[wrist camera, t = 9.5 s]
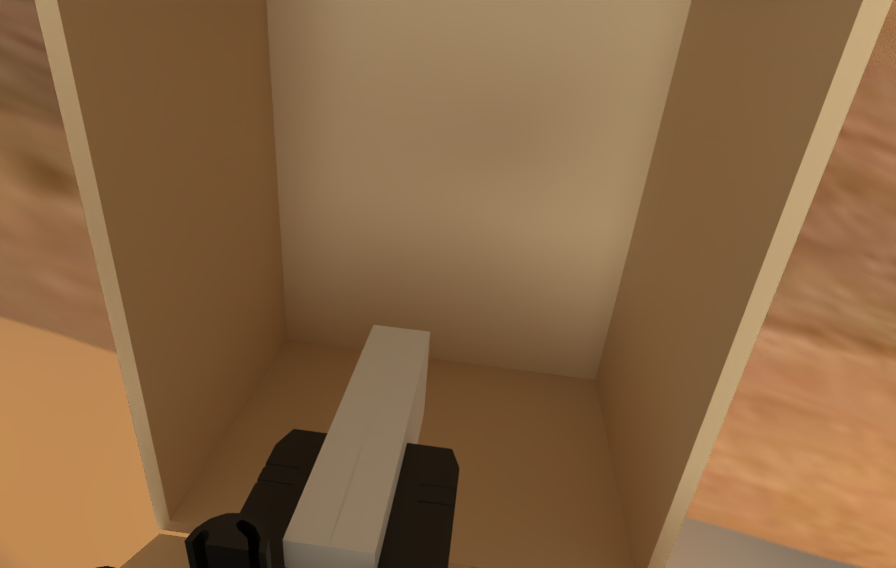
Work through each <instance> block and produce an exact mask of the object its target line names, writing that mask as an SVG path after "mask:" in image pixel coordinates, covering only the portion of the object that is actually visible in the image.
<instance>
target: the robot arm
mask: <svg viewBox="0 0 896 568" xmlns="http://www.w3.org/2000/svg"><path fill="white" fill-rule="evenodd" d="M429 342H430V332H428V331H420V330H412V329H404V328H396V327H388V326H380V325H373V327H372V330H371V332H370V334H369V337H368V339H367V341H366V344H365V346H364V348H363V351H362V353H361V356H360V358H359V360H358V363H357V365H356V367H355V370H354V372H353V375H352V377H351V379H350V382H349V384H348V386H347V389H346V391H345V393H344V396H343V398H342V401H341V403H340V405H339V408H338V410H337V412H336V415H335V417H334V419H333V422H332V424H331V427H330V429H329V431H328V433H321V432H314V431H307V430H299V429H293V430H292V431H290V432H289V433H288V434H287V435H286V436H285V437H283V438H282V439H281V440H280V441H279V442H278V443H276V445H275V447H274V448H273V450H272V452H271V454H270V456H269V458H268V460H267V462H266V465H265V467H263V469H262V471H261V473H260V475H259V477H258V479H257V483H255V484H254V486H253V488H252V490H251V492H250V494H249V496H248V498H247V500H246V502H245V503H244V505H243V507H242V509H241V511H240V513H225V514H222V515H219V516H216V517H213V518H210V519H208V520H207V521H205V522H204V523H202V524H201V525H199V526H198V527H196V528H195V529H194V530H193V531H192V533H191V534H190V535H189V536H188V537H187V538H186V540H185V541H184V542H185V547H186V551H187V556H188V561H189V566H190V568H448V563H449V555H450V546H451V538H452V529H453V520H454V512H455V503H456V495H457V486H458V478H459V469H460V468H459V465H458V463H457V460H456V457H455V455H454V452H453V450H452V449H449V448H442V447H435V446H427V445H420V444H417V443H418V439H419V434H420V430H421V425H422V420H423V416H424V407H425V394H426V381H427V368H428V355H429ZM98 568H114V567H109V566H104V567H98Z"/></svg>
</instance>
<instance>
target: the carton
mask: <svg viewBox="0 0 896 568" xmlns="http://www.w3.org/2000/svg"><path fill="white" fill-rule="evenodd" d="M891 3H892V0H35V4H36V9H37V13H38V17H39V21H40V26H41V30H42V34H43V39H44V43H45V47H46V51H47V56H48V60H49V64H50V69H51V73H52V77H53V81H54V86H55V90H56V94H57V99H58V103H59V107H60V112H61V116H62V120H63V124H64V129H65V133H66V137H67V142H68V146H69V150H70V154H71V159H72V163H73V167H74V172H75V176H76V180H77V184H78V189H79V193H80V197H81V202H82V206H83V210H84V214H85V219H86V223H87V227H88V232H89V236H90V240H91V244H92V249H93V253H94V257H95V262H96V266H97V270H98V274H99V279H100V283H101V287H102V292H103V296H104V300H105V304H106V309H107V313H108V317H109V322H110V326H111V330H112V335H113V339H114V343H115V347H116V352H117V356H118V360H119V364H120V369H121V373H122V377H123V381H124V386H125V390H126V395H127V399H128V403H129V407H130V412H131V416H132V420H133V425H134V429H135V433H136V437H137V442H138V446H139V450H140V454H141V459H142V463H143V467H144V472H145V476H146V480H147V485H148V489H149V493H150V497H151V502H152V506H153V510H154V515H155V519H156V523H157V527H158V529H162V530H169V531H176V532H183V533H189V534H191V533H192V531H193V530H194V529H195V528H196V527H198V526H199V525H201V524H202V523H204V522H205V521H207V520H208V519H210V518H213V517H216V516H219V515H222V514H225V513H240V511H241V509H242V507H243V505H244V503H245V502H246V500H247V498H248V496H249V494H250V492H251V490H252V488H253V486H254V484H255V483H257V479H258V477H259V475H260V473H261V471H262V469H263V467H265V465H266V462H267V460H268V458H269V456H270V454H271V452H272V450H273V448H274V447H275V445H276V443H278V442H279V441H280V440H281V439H282V438H283V437H285V436H286V435H287V434H288V433H289V432H290V431H292V430H293V429H299V430H307V431H314V432H321V433H328V431H329V429H330V427H331V424H332V422H333V419H334V417H335V415H336V412H337V410H338V408H339V405H340V403H341V401H342V398H343V396H344V393H345V391H346V389H347V386H348V384H349V382H350V379H351V377H352V375H353V372H354V370H355V367H356V365H357V363H358V360H359V358H360V356H361V353H362V351H363V348H364V346H365V344H366V341H367V339H368V337H369V334H370V332H371V330H372V327H373V325H380V326H388V327H396V328H404V329H412V330H420V331H428V332H430V342H429V355H428V368H427V381H426V394H425V407H424V416H423V420H422V425H421V430H420V434H419V439H418V443H417V444H420V445H427V446H435V447H442V448H449V449H452V450H453V452H454V455H455V457H456V460H457V463H458V465H459V468H460V469H459V478H458V486H457V495H456V503H455V512H454V520H453V529H452V538H451V546H450V555H449V563H448V568H665V565H666V563H667V560H668V558H669V555H670V553H671V550H672V548H673V545H674V543H675V540H676V538H677V536H678V533H679V531H680V528H681V526H682V523H683V521H684V518H685V516H686V513H687V511H688V508H689V506H690V503H691V501H692V498H693V496H694V493H695V491H696V488H697V486H698V483H699V481H700V478H701V476H702V473H703V471H704V468H705V466H706V463H707V461H708V458H709V456H710V453H711V451H712V448H713V446H714V443H715V441H716V438H717V436H718V434H719V431H720V429H721V426H722V424H723V421H724V419H725V416H726V414H727V411H728V409H729V406H730V404H731V401H732V399H733V396H734V394H735V391H736V389H737V386H738V384H739V381H740V379H741V376H742V374H743V371H744V369H745V366H746V364H747V361H748V359H749V356H750V354H751V351H752V349H753V346H754V344H755V341H756V339H757V336H758V334H759V331H760V329H761V326H762V324H763V321H764V319H765V317H766V314H767V312H768V309H769V307H770V304H771V302H772V299H773V297H774V294H775V292H776V289H777V287H778V284H779V282H780V279H781V277H782V274H783V272H784V269H785V267H786V264H787V262H788V259H789V257H790V254H791V252H792V249H793V247H794V244H795V242H796V239H797V237H798V234H799V232H800V229H801V227H802V224H803V222H804V219H805V217H806V214H807V212H808V209H809V207H810V205H811V202H812V200H813V197H814V195H815V192H816V190H817V187H818V185H819V182H820V180H821V177H822V175H823V172H824V170H825V167H826V165H827V162H828V160H829V157H830V155H831V152H832V150H833V147H834V145H835V142H836V140H837V137H838V135H839V132H840V130H841V127H842V125H843V122H844V120H845V117H846V115H847V112H848V110H849V107H850V105H851V102H852V100H853V97H854V95H855V92H856V90H857V88H858V85H859V83H860V80H861V78H862V75H863V73H864V70H865V68H866V65H867V63H868V60H869V58H870V55H871V53H872V50H873V48H874V45H875V43H876V40H877V38H878V35H879V33H880V30H881V28H882V25H883V23H884V20H885V18H886V15H887V13H888V10H889V8H890V5H891Z"/></svg>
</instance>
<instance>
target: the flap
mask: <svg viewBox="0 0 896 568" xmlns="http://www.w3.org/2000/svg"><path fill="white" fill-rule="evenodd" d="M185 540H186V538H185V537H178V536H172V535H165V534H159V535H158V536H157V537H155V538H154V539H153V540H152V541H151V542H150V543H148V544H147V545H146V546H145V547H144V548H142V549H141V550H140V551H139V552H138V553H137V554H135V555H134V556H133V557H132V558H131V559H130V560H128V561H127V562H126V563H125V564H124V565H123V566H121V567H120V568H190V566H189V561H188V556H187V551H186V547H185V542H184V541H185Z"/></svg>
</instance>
